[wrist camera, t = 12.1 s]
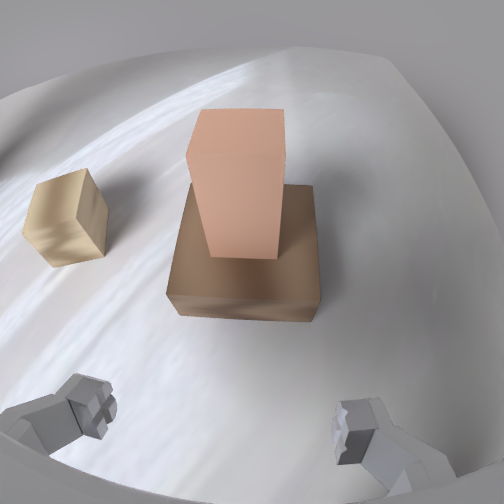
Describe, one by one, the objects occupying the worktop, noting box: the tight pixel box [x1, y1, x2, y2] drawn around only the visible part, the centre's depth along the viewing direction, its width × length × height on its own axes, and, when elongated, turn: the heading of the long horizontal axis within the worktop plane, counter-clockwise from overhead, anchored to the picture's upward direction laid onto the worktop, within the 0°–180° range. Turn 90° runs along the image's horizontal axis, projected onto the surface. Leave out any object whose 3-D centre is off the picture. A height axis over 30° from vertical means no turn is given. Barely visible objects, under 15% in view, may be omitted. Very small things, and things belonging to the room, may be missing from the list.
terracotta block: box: [186, 109, 286, 259], centre depth 18 cm, size 4×4×9 cm
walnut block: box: [166, 183, 321, 322], centre depth 23 cm, size 10×10×4 cm
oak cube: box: [22, 168, 109, 268], centre depth 25 cm, size 6×6×6 cm
